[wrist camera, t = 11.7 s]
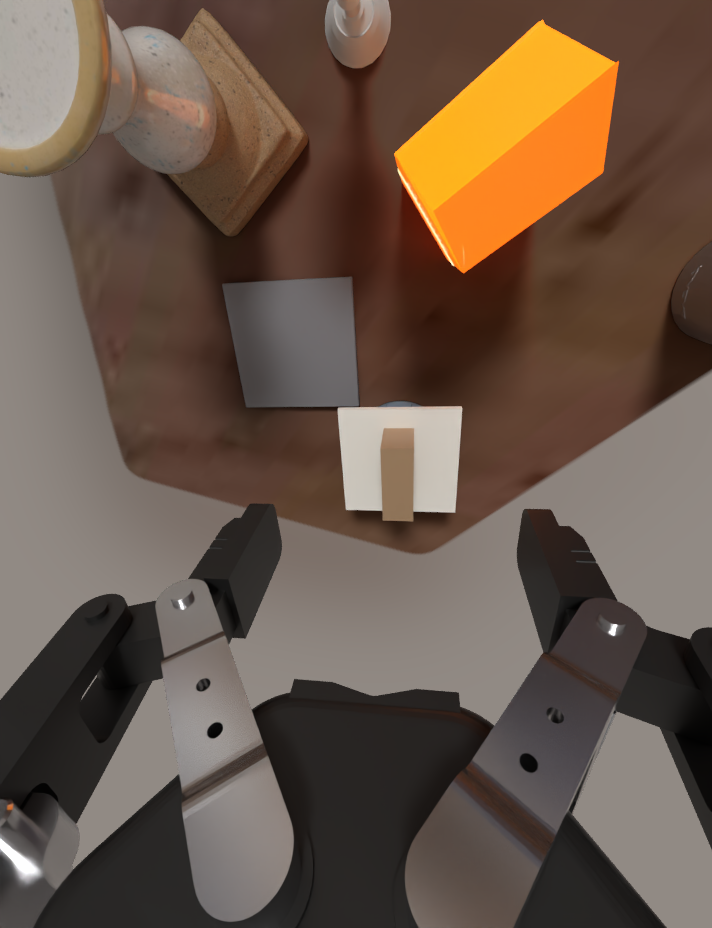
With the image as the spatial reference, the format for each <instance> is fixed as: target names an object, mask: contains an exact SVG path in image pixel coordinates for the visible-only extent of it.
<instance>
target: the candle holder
mask: <svg viewBox="0 0 712 928" xmlns="http://www.w3.org/2000/svg"><path fill="white" fill-rule="evenodd" d="M110 133H113V134H114V136H115V137H116V139H117V140H118V142H119V143H120V144H121V145H122V147H123V148H124V149H125V150H126V151H127V152H128V153H129V154H130V155H131V156H132V157H133V158H134V159H136V160H137V161H138V162H140V163H141V164H143V165H144V166H146V167H148V168H150V169H152V170H154V171H157V172H160V173H166V174H167V175H168V176H169V177H170V178H171V179H172V180H173V181H174V182H175V183H176V184H177V185H178V186H179V187H180V189H181V190H182V191H183V192H184V193H185V194H186V195H187V196H188V197H189V198H190V199H191V200H192V201H193V203H194V204H195V205H196V206H197V207H198V208H199V209H200V210H201V211H202V212H203V213H204V214H205V215H206V217H207V218H208V219H209V220H210V221H211V222H212V223H213V224H214V225H215V226H216V227H217V228H218V229H219V230H220V231H222V232H223V233H224V234H225V235H227V236H236V235H238V234H239V233H240V231H241V230H242V229H243V228H244V227H245V226H246V224H247V223H248V222H249V221H250V219H251V218H252V217H253V215H254V214H255V213H256V212H257V210H258V209H259V208H260V206H261V205H262V204H263V202H264V201H265V200H266V199H267V197H268V196H269V195H270V193H271V192H272V191H273V189H274V188H275V187H276V186H277V184H278V183H279V182H280V180H281V179H282V178H283V176H284V175H285V174H286V172H287V171H288V170H289V169H290V167H291V166H292V165H293V163H294V162H295V161H296V159H297V158H298V157H299V155H300V154H301V152H302V151H303V149H304V148H305V146H306V145H307V143H308V140H309V138H308V135H307V133H306V132H305V131H304V129H303V128H302V126H301V125H300V124H299V122H298V121H297V120H296V118H295V117H294V116H293V114H292V113H291V112H290V111H289V109H288V108H287V107H286V106H285V104H284V103H283V102H282V101H281V99H280V98H279V97H278V96H277V94H276V93H275V92H274V91H273V89H272V88H271V87H270V86H269V84H268V83H267V82H266V81H265V79H264V78H263V77H262V75H261V74H260V73H259V72H258V70H257V69H256V68H255V67H254V65H253V64H252V63H251V62H250V60H249V59H248V58H247V57H246V55H245V54H244V53H243V52H242V50H241V49H240V48H239V47H238V45H237V44H236V43H235V42H234V40H233V39H232V38H231V37H230V35H229V34H228V33H227V32H226V31H225V30H224V29H223V27H222V26H221V25H220V24H219V23H218V22H217V21H216V20H215V19H214V17H213V16H212V15H211V14H210V13H209V12H207V11H206V10H204V9H203V8H202V9H201V10H200V11H199V12H198V14H197V15H196V17H195V18H194V20H193V21H192V23H191V24H190V26H189V27H188V29H187V31H186V33H185V34H184V36H183V37H182V39H181V40H180V41H179V40H178V39H177V38H176V37H174V36H172V35H171V34H169V33H167V32H165V31H163V30H160V29H157V28H154V27H148V26H136V27H130V28H127V29H125V30H122V31H121V30H120V28H119V27H118V26H117V24H116V23H115V22H114V21H113V19H112V18H111V17H110V16H109V15H108V14H107V13H106V9H105V5H104V1H103V0H0V173H4V174H7V175H13V176H21V177H39V176H47V175H50V174H53V173H56V172H59V171H62V170H64V169H65V168H67V167H69V166H70V165H72V164H74V163H75V162H77V161H78V160H79V159H80V158H81V157H82V156H83V155H84V154H85V153H86V152H87V151H88V149H89V148H90V146H91V145H92V143H93V141H94V140H95V138H96V137H97V135H98V134H110Z"/></svg>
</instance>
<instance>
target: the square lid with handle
mask: <svg viewBox="0 0 712 928" xmlns="http://www.w3.org/2000/svg"><path fill="white" fill-rule="evenodd" d="M338 420H339V432H340V444H341V456H342V468H343V479H344V491H345V503H346V510H374V511H382V513H383V521H413V511H414V512H454V513H455V507H456V493H457V478H458V464H459V449H460V434H461V420H462V406H449V407H342V408H338Z"/></svg>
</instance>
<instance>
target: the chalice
mask: <svg viewBox="0 0 712 928" xmlns="http://www.w3.org/2000/svg"><path fill="white" fill-rule="evenodd" d="M390 27H391V12H390V8H389V3H388V0H330V1H329V3H328V6H327V11H326V16H325V34H326V38H327V42H328V45H329V48H330V50H331V51H332V53H333V55H334V57H335V58H336V59H337V60H338V61H340V62H341V63H342V64H343V65H345V66H348V67H350V68H363V67H365V66H367V65H369V64H371V63H373V62H374V61H375V60H376V59H377V58H378V57H379V56H380V54H381V53H382V51H383V49H384V47H385V45H386V43H387V40H388V36H389V33H390Z"/></svg>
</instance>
